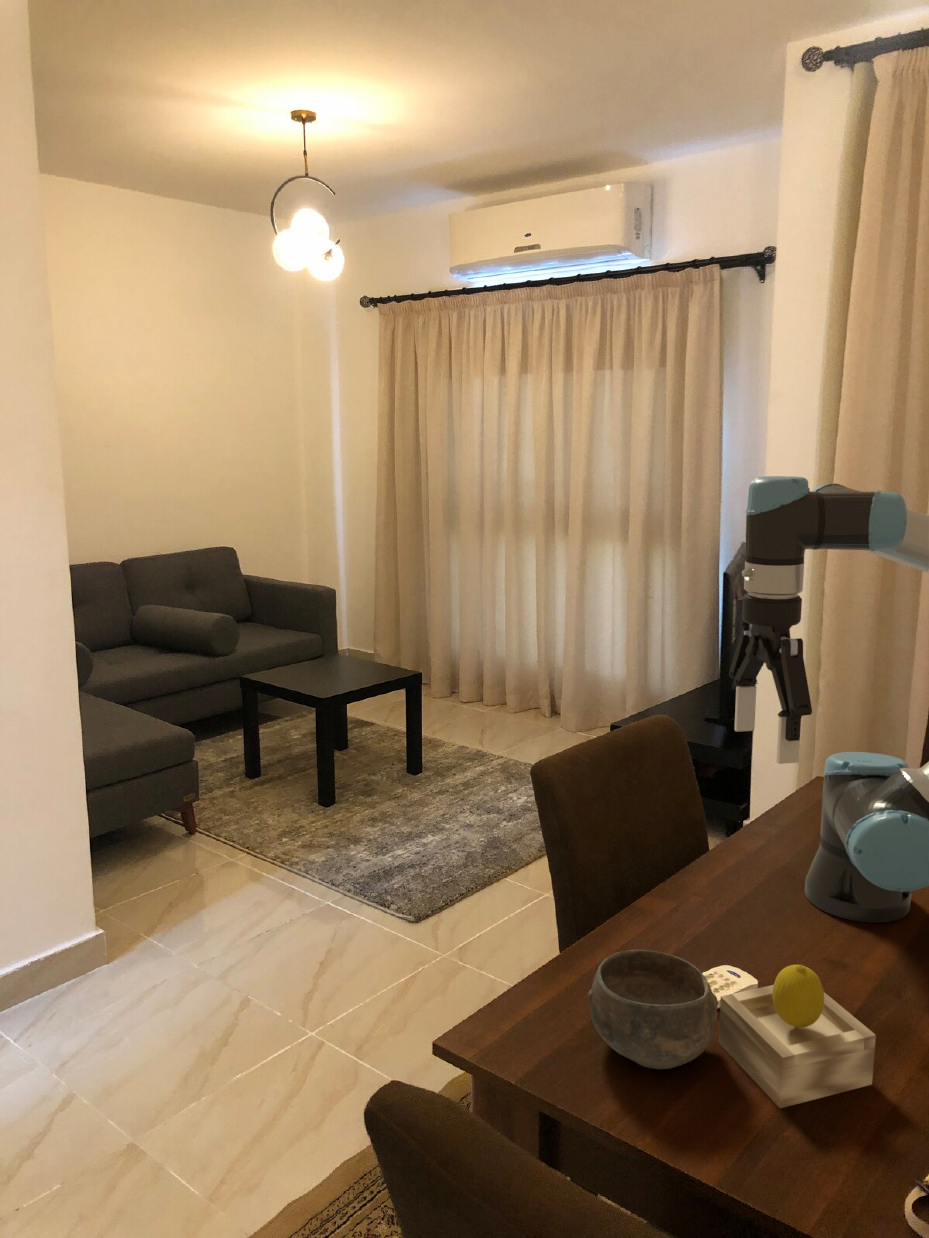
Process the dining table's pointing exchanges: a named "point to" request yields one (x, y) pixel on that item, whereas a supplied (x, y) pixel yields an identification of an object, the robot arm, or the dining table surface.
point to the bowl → (653, 1008)
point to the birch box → (796, 1048)
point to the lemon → (798, 996)
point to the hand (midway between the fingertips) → (764, 745)
